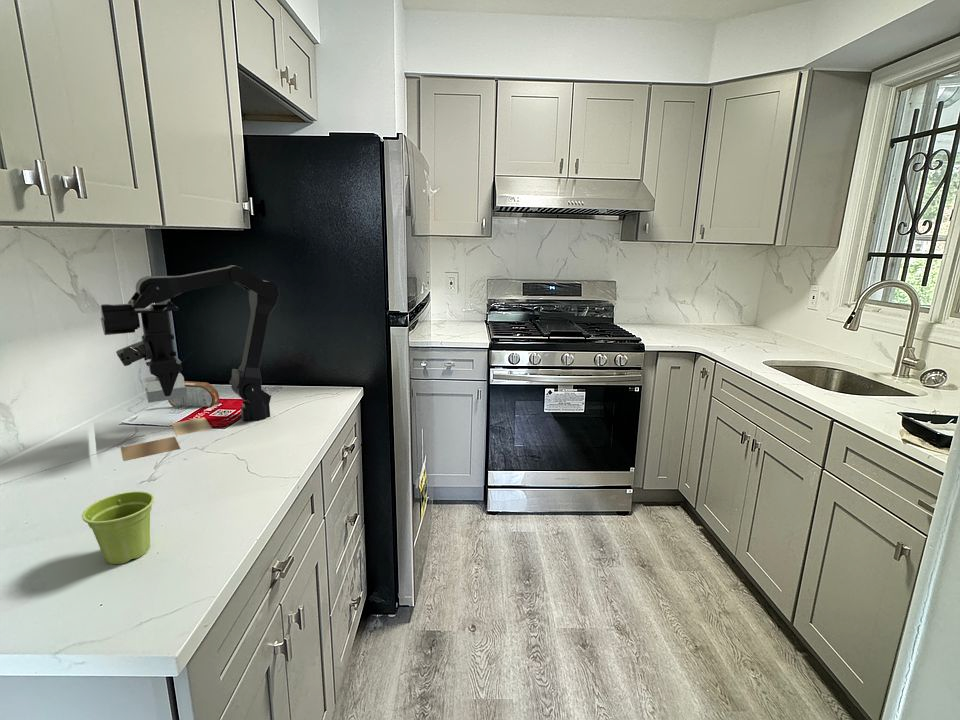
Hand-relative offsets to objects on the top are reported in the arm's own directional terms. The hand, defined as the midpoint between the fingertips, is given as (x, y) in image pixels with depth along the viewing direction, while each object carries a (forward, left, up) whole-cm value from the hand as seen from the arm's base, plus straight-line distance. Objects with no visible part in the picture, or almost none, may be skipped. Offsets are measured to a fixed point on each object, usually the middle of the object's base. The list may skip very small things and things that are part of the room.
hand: (166, 393), depth 121 cm
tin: (-8, -23, -13) cm, 28 cm away
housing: (0, 0, -1) cm, 1 cm away
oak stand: (-5, -5, -13) cm, 14 cm away
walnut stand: (+5, +5, -13) cm, 15 cm away
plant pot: (+13, +47, -13) cm, 50 cm away
